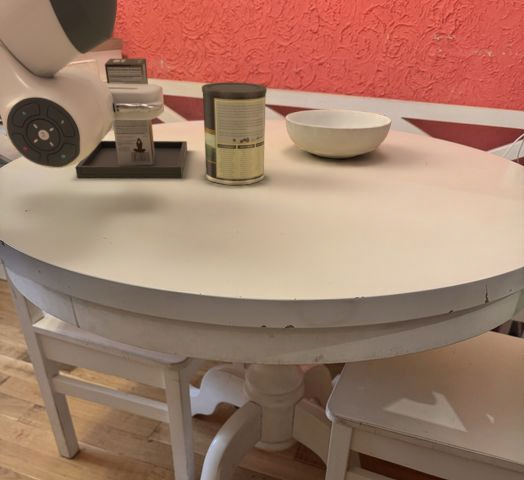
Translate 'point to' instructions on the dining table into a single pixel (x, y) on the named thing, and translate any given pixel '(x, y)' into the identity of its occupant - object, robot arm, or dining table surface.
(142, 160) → the coffee box
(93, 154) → the tray
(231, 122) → the coffee can
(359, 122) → the serving bowl
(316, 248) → the dining table surface
